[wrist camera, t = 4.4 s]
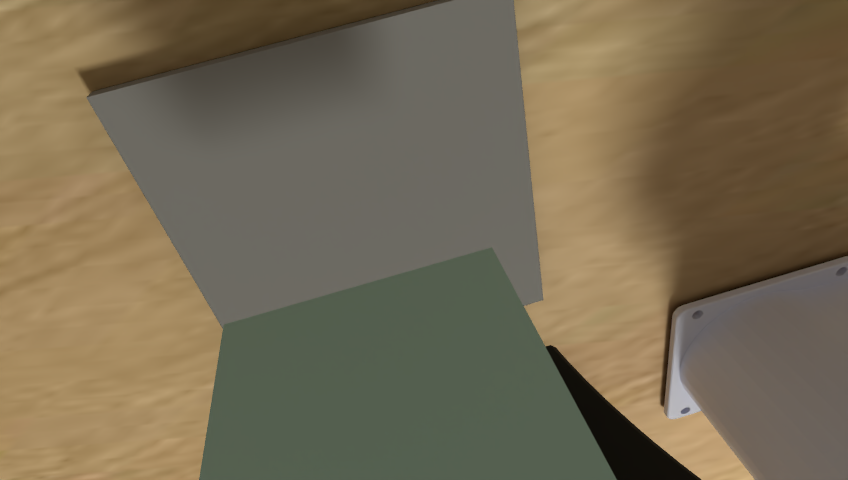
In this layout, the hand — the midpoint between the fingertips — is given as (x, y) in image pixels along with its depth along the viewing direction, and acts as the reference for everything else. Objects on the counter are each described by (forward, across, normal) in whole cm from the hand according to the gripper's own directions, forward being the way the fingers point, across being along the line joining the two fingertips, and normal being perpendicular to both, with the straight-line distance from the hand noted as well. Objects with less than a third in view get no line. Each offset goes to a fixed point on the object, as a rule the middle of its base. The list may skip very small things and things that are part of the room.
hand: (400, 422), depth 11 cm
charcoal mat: (+9, 0, 0) cm, 9 cm away
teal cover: (+1, 0, 0) cm, 1 cm away
